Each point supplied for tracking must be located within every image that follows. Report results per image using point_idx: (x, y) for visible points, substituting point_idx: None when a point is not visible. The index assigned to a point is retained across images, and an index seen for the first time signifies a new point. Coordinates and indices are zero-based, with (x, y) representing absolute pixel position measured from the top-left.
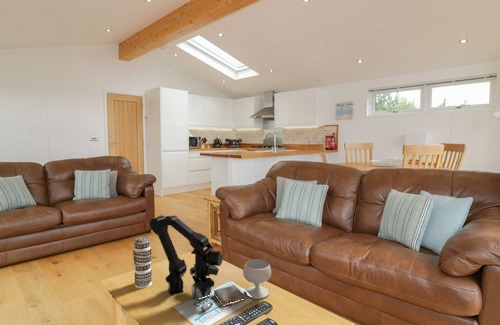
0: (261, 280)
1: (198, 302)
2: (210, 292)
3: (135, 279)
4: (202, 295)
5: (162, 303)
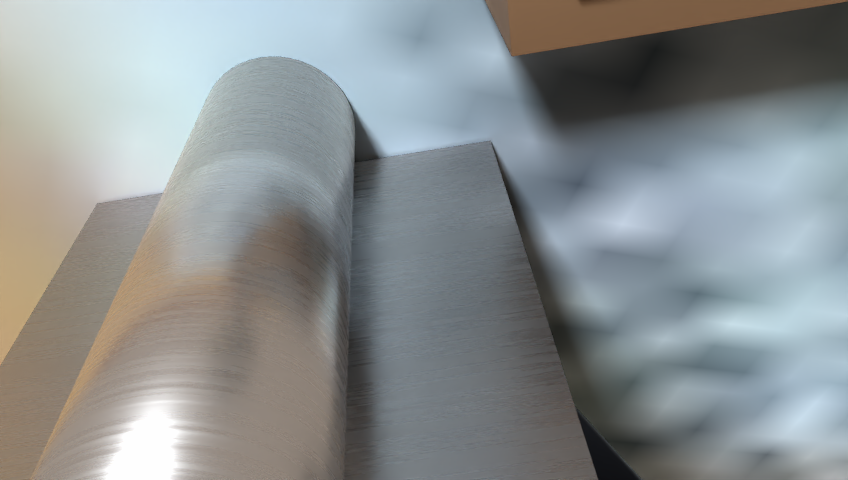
0: None
1: (641, 464)
2: (352, 150)
3: None
4: None
5: None
